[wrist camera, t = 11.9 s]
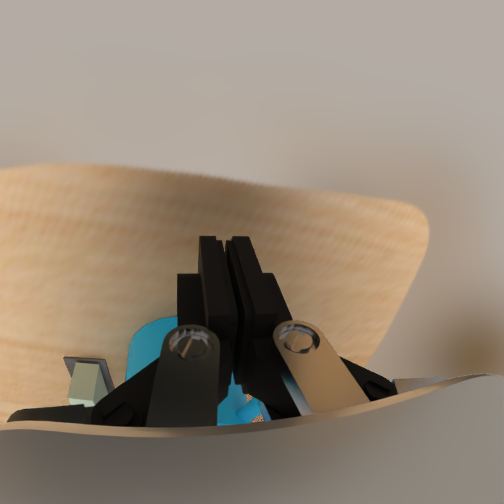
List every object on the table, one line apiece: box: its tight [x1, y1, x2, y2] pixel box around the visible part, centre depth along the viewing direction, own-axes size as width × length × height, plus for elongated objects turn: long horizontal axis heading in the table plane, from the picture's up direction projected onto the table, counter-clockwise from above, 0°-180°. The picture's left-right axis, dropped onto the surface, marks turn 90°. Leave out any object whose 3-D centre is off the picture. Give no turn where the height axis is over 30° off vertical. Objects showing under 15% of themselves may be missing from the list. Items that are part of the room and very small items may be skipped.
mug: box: [125, 316, 261, 426], centre depth 19 cm, size 12×8×8 cm
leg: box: [68, 362, 108, 407], centre depth 22 cm, size 12×2×4 cm, turn 172°
